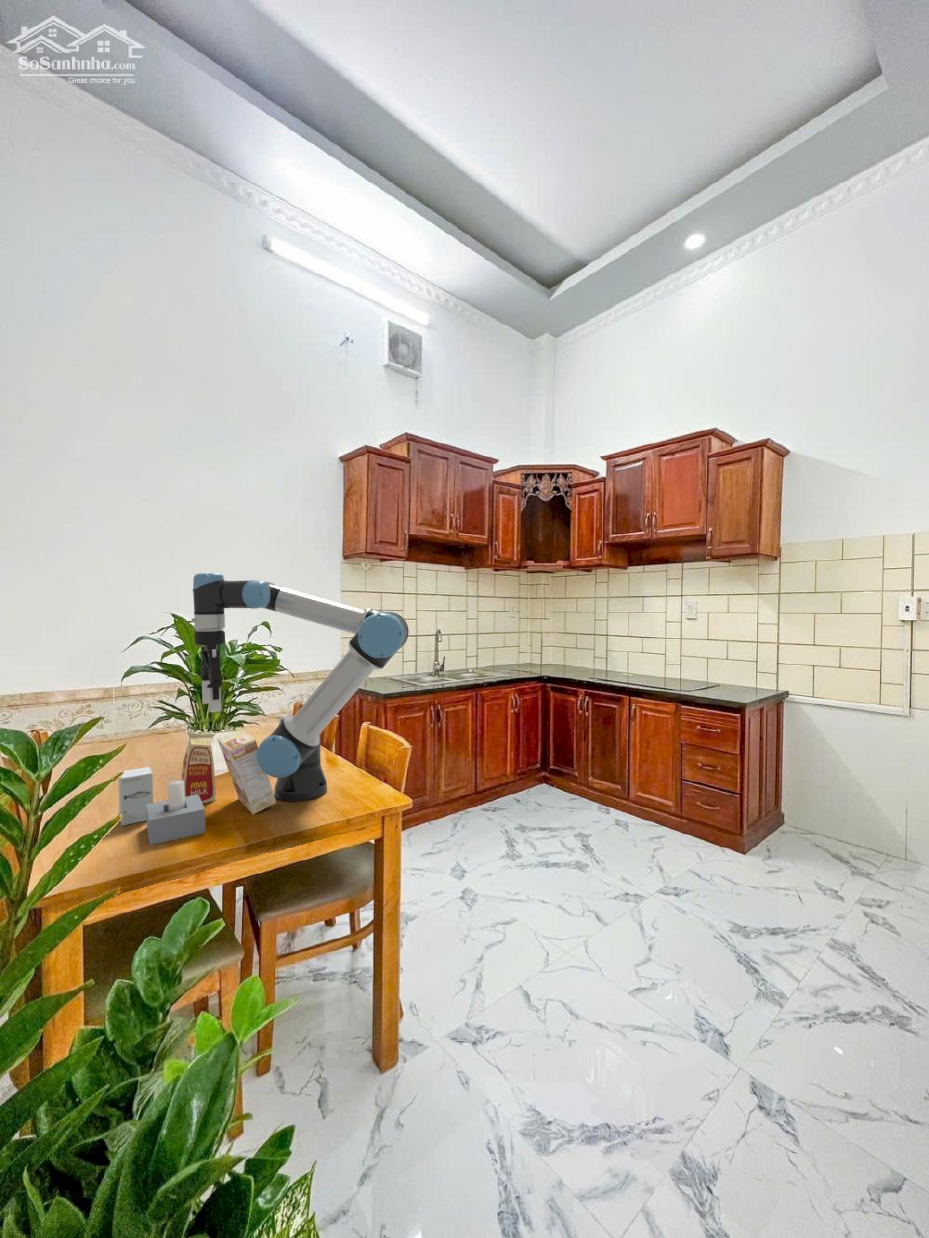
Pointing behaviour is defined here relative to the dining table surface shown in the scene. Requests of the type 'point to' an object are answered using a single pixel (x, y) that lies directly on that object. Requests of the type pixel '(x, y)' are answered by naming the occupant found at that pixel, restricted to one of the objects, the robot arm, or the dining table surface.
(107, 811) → the dining table surface
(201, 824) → the socket
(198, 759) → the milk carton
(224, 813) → the dining table surface
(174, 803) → the peg
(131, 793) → the supplement box
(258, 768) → the coffeecake box
